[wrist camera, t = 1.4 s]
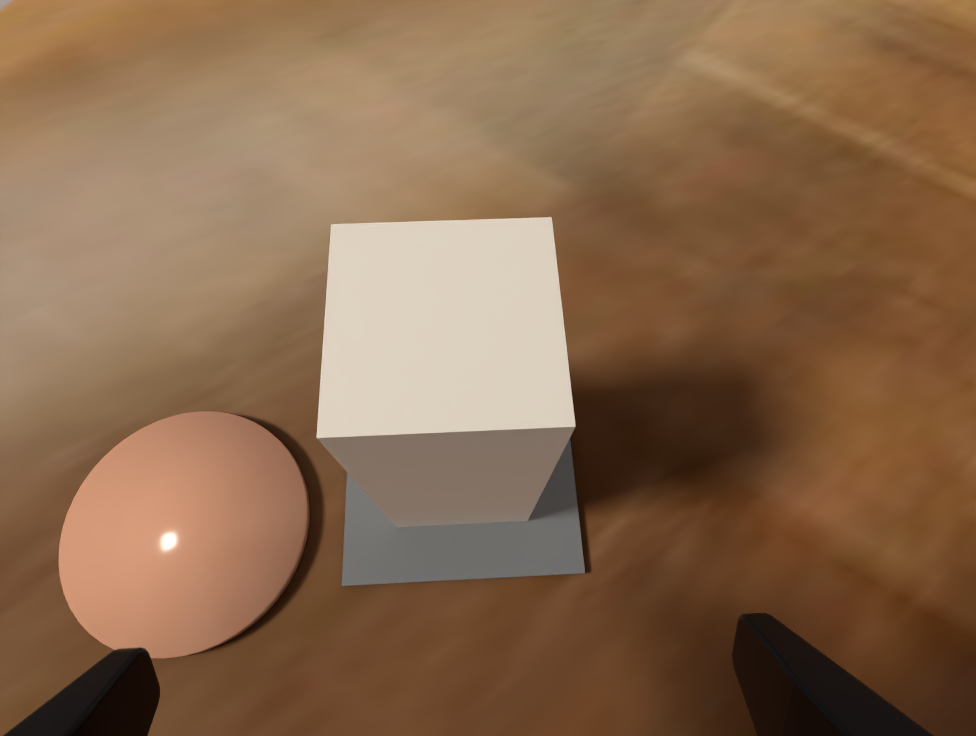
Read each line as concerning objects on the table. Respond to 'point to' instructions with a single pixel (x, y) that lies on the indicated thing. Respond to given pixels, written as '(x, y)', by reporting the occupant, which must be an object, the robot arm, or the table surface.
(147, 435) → the peach dome
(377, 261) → the ivory block
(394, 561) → the gray tile
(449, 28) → the table surface
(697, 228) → the table surface
